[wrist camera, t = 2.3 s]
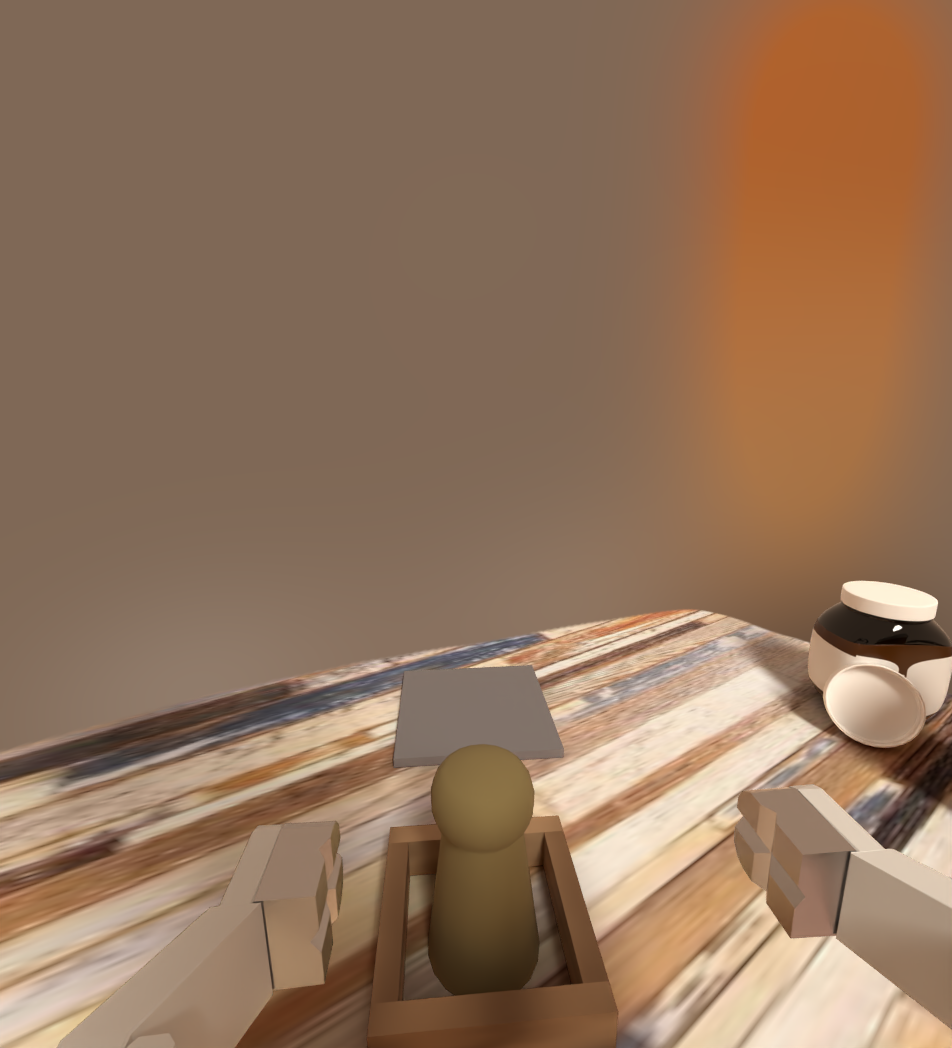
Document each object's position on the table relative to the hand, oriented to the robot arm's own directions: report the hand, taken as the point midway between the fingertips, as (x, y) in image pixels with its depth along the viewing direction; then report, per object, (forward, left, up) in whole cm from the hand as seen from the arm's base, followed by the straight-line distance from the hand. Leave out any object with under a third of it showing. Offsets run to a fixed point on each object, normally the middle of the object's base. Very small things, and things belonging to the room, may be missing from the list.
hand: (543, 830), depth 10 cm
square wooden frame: (0, +13, -20) cm, 24 cm away
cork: (0, +13, -20) cm, 24 cm away
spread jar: (+38, +30, -20) cm, 52 cm away
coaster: (+1, +34, -20) cm, 39 cm away
